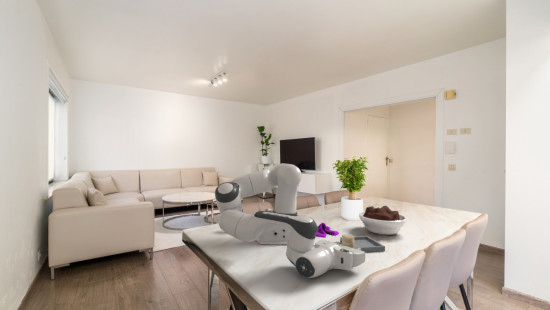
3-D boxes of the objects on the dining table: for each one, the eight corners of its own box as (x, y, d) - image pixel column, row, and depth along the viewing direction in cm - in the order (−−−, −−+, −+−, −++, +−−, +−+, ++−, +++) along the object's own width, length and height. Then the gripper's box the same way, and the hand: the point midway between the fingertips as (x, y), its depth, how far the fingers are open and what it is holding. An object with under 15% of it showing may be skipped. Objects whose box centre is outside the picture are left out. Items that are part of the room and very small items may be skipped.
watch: (269, 229, 148) (270, 210, 148) (261, 226, 155) (261, 208, 154) (277, 227, 152) (277, 209, 152) (268, 224, 158) (269, 207, 158)
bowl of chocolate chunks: (401, 242, 128) (401, 213, 128) (352, 233, 143) (352, 206, 143) (410, 231, 148) (410, 205, 148) (366, 223, 163) (366, 200, 163)
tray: (354, 253, 114) (354, 248, 114) (340, 241, 129) (340, 237, 129) (385, 251, 117) (385, 246, 117) (367, 240, 131) (367, 235, 131)
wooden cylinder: (344, 262, 104) (345, 238, 104) (339, 258, 108) (339, 234, 108) (356, 262, 104) (356, 237, 104) (350, 257, 109) (350, 234, 109)
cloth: (324, 226, 158) (325, 216, 158) (346, 235, 141) (346, 224, 141) (294, 231, 147) (294, 220, 147) (314, 241, 131) (314, 229, 131)
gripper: (308, 255, 105) (327, 247, 114) (354, 272, 90) (371, 261, 100) (308, 240, 105) (328, 233, 114) (354, 254, 90) (372, 245, 100)
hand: (348, 246), depth 107 cm, fingers open, 8 cm apart
